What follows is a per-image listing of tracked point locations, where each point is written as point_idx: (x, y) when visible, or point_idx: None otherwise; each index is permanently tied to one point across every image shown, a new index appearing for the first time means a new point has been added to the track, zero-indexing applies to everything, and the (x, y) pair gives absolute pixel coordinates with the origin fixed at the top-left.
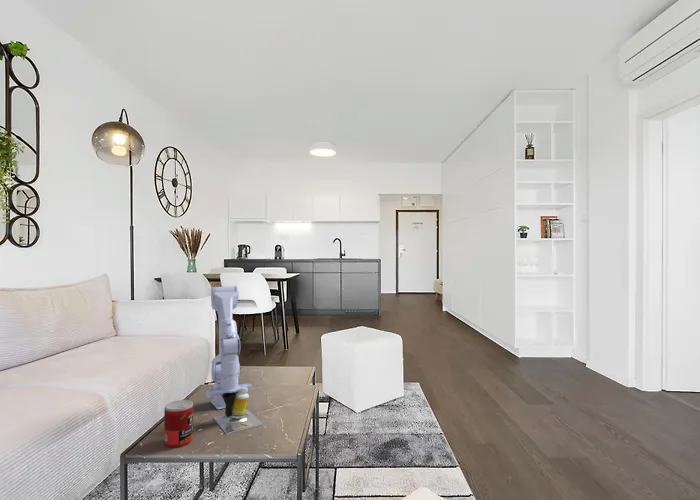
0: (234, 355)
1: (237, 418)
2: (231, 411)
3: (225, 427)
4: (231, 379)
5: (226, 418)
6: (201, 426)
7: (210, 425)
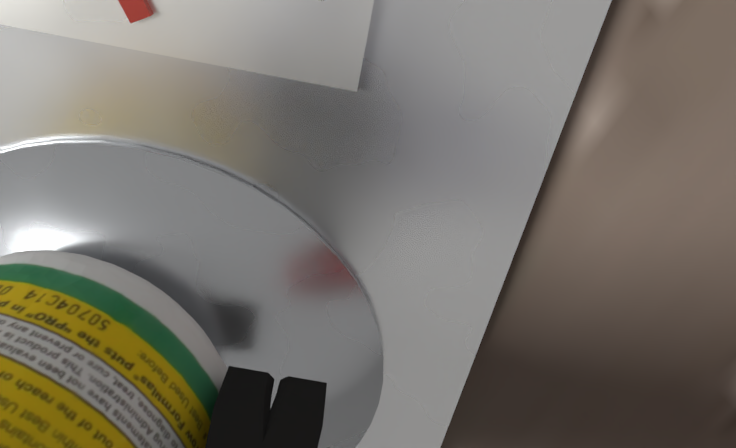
0: None
1: None
2: (215, 446)
3: (483, 133)
4: None
5: None
6: (682, 442)
7: (577, 393)
